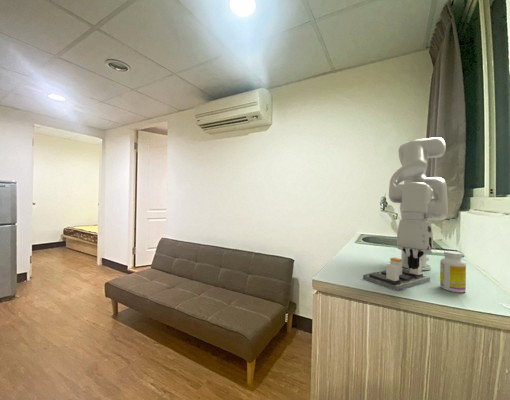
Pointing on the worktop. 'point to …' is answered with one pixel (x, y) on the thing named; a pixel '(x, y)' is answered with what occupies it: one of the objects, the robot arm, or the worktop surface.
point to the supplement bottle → (453, 272)
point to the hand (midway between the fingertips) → (413, 268)
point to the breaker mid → (397, 263)
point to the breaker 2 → (417, 271)
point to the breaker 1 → (392, 272)
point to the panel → (404, 280)
